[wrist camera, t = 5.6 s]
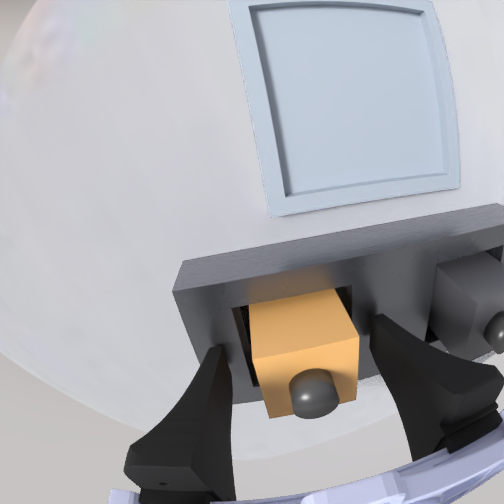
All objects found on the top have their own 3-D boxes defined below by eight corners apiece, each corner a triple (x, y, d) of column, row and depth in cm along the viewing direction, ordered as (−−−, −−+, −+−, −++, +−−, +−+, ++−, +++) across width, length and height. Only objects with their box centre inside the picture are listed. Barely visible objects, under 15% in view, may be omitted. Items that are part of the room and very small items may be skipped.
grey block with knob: (465, 237, 16) (541, 293, 9) (458, 291, 17) (518, 354, 11) (417, 249, 16) (493, 318, 9) (412, 305, 17) (469, 381, 11)
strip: (497, 203, 15) (527, 218, 12) (481, 303, 18) (502, 325, 15) (182, 261, 15) (171, 291, 13) (219, 370, 19) (218, 406, 16)
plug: (321, 265, 16) (369, 357, 9) (326, 323, 17) (363, 419, 11) (247, 280, 16) (254, 383, 9) (260, 337, 18) (271, 439, 11)
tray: (422, 5, 10) (432, 1, 9) (449, 183, 14) (459, 187, 13) (227, 2, 10) (226, -5, 9) (268, 211, 14) (270, 217, 14)
